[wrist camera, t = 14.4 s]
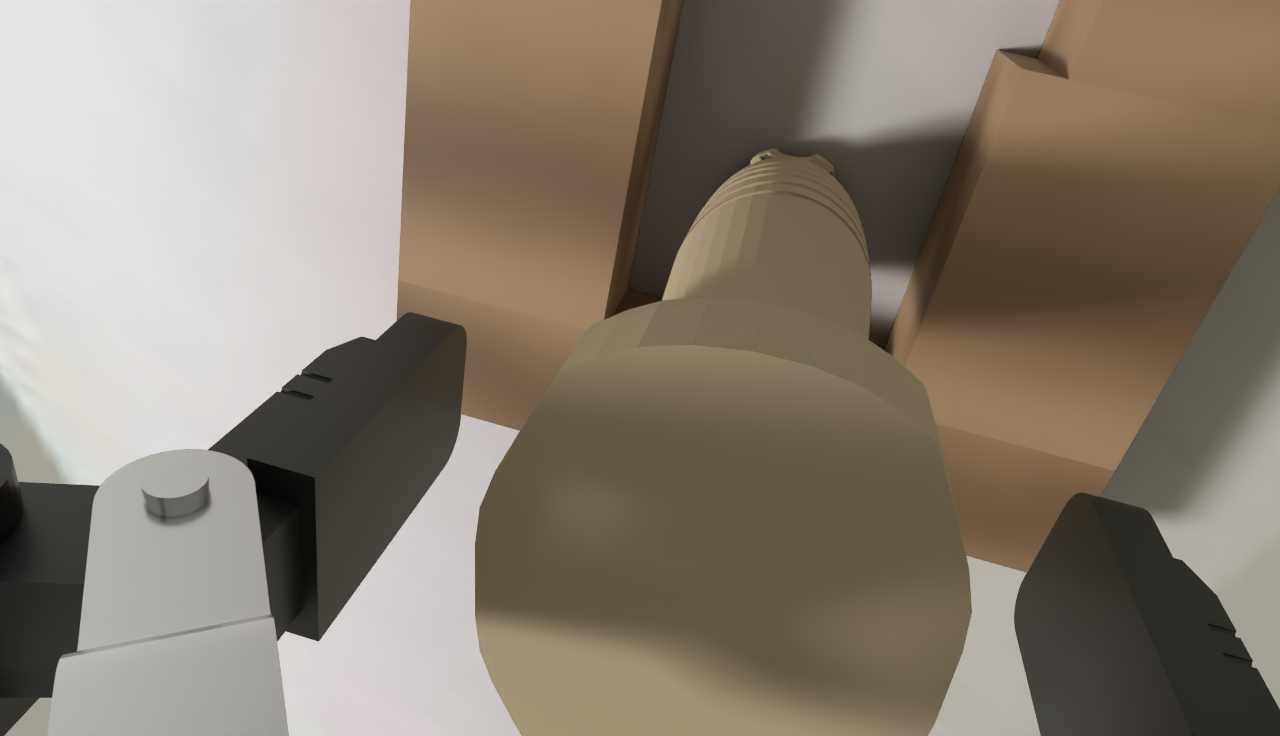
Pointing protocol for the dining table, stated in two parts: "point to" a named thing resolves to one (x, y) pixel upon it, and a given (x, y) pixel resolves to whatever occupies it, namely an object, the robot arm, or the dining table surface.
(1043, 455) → the square wooden frame
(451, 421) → the robot arm
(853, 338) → the handle
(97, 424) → the dining table surface
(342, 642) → the dining table surface
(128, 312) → the dining table surface
